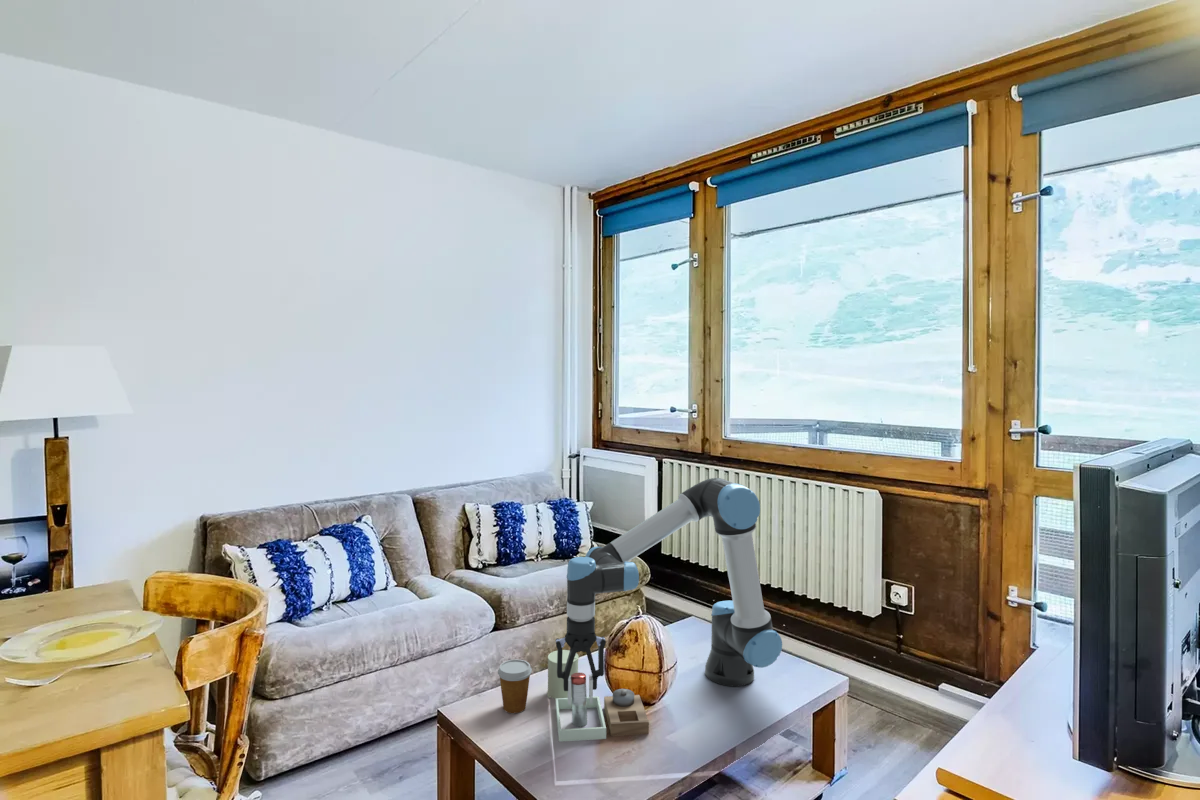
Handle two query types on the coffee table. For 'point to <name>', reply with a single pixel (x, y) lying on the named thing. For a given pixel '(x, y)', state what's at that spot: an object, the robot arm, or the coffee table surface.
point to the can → (553, 681)
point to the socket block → (625, 713)
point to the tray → (580, 732)
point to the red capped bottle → (579, 699)
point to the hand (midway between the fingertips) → (580, 701)
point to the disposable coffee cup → (514, 684)
